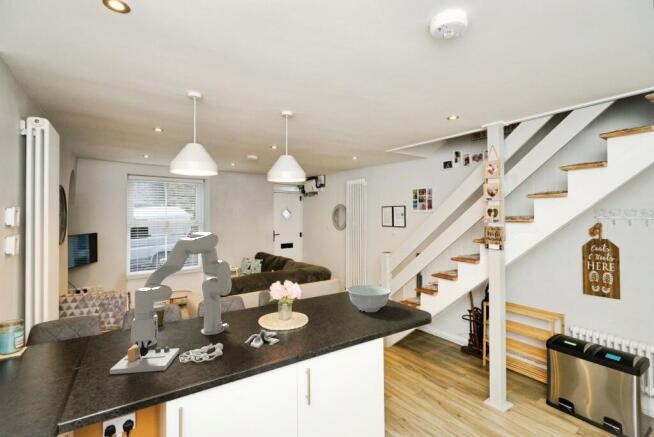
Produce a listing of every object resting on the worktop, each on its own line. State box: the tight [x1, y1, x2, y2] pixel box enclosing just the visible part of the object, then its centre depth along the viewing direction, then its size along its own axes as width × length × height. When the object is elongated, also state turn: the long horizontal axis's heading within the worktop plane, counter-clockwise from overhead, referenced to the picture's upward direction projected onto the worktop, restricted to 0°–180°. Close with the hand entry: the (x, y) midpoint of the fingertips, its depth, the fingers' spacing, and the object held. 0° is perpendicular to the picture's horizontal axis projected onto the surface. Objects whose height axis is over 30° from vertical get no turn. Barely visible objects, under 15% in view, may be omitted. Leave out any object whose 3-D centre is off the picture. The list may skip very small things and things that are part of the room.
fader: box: [127, 344, 141, 361], centre depth 137 cm, size 3×6×5 cm, turn 9°
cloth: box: [244, 329, 280, 349], centre depth 163 cm, size 22×19×6 cm
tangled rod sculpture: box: [178, 342, 224, 364], centre depth 143 cm, size 19×14×4 cm
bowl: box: [346, 284, 392, 313], centre depth 220 cm, size 32×32×15 cm
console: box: [109, 346, 180, 375], centre depth 138 cm, size 22×18×4 cm
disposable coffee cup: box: [154, 303, 166, 327], centre depth 188 cm, size 10×10×12 cm
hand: (144, 355), depth 138 cm, fingers closed
